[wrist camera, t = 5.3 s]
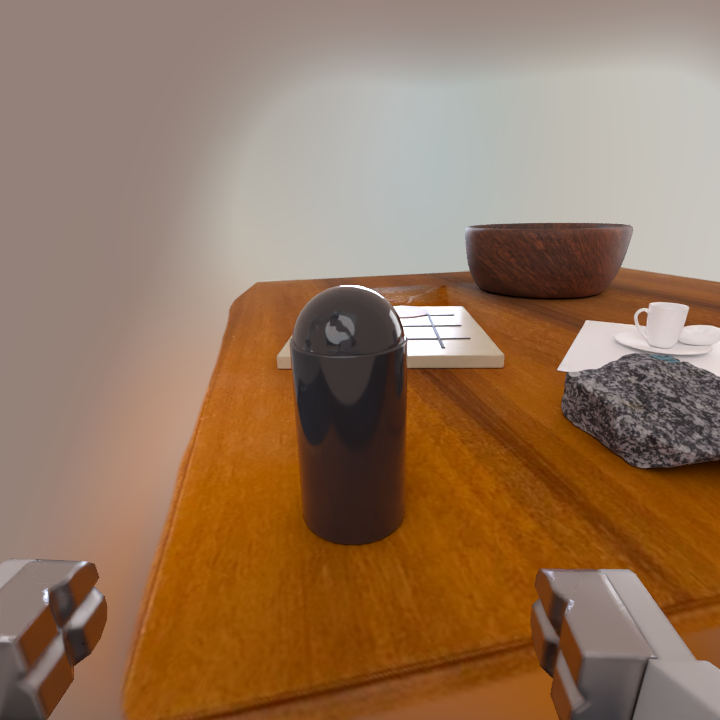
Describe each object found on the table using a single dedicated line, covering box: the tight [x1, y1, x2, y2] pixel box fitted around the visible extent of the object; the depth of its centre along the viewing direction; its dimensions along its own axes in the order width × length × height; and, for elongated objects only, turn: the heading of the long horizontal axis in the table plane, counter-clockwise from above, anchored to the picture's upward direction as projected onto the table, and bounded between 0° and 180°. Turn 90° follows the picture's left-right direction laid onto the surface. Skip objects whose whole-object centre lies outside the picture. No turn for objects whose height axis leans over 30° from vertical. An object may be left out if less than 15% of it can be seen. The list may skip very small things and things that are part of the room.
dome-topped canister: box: [290, 285, 408, 545], centre depth 19 cm, size 5×5×10 cm
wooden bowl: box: [465, 223, 633, 298], centre depth 72 cm, size 25×25×10 cm
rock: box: [561, 353, 720, 468], centre depth 25 cm, size 8×10×4 cm
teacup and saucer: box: [613, 302, 720, 356], centre depth 41 cm, size 9×8×4 cm
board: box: [277, 306, 504, 369], centre depth 47 cm, size 20×20×1 cm
